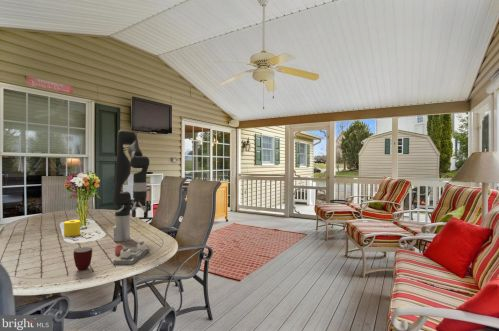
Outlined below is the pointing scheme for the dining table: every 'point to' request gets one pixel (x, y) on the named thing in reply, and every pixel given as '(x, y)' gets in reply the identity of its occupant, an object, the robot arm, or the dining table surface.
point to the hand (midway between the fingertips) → (139, 217)
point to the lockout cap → (118, 249)
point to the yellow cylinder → (72, 228)
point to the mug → (82, 258)
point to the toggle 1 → (124, 253)
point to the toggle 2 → (141, 246)
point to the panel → (132, 258)
